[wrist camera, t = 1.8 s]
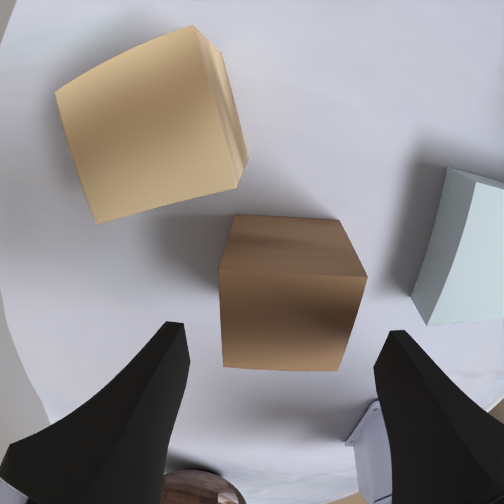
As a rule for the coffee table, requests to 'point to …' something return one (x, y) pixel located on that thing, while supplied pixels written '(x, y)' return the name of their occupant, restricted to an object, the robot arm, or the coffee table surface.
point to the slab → (464, 254)
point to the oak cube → (154, 126)
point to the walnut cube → (288, 293)
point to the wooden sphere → (198, 489)
